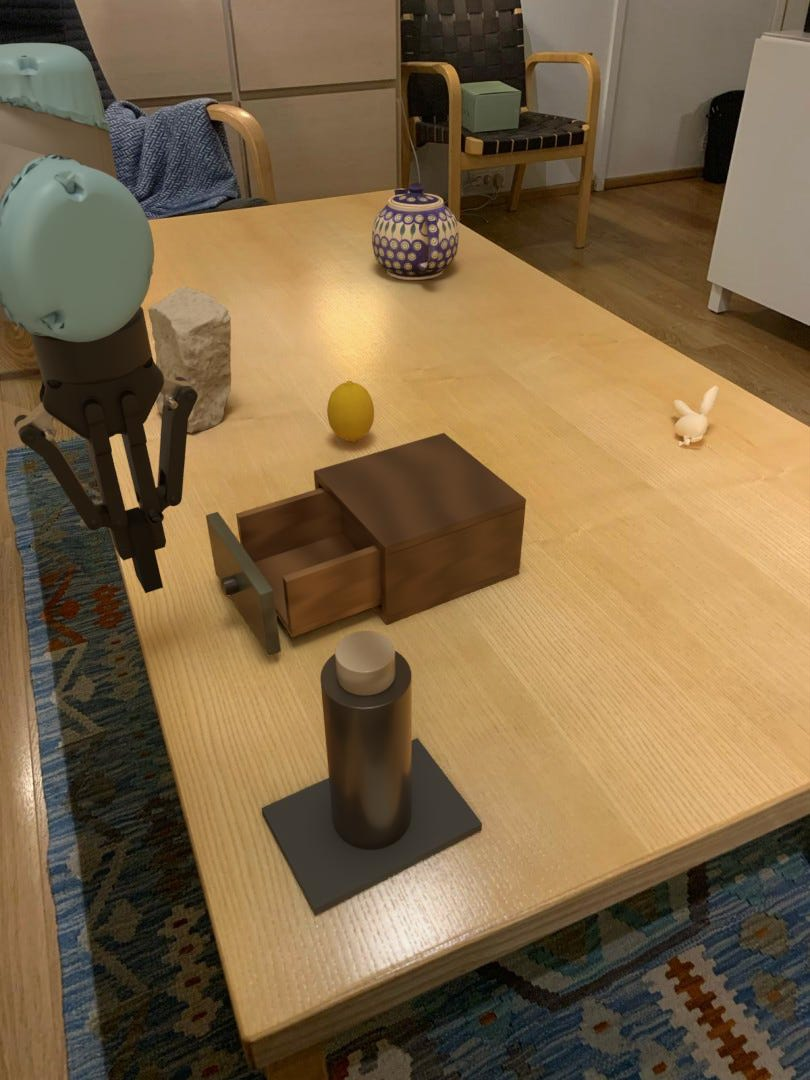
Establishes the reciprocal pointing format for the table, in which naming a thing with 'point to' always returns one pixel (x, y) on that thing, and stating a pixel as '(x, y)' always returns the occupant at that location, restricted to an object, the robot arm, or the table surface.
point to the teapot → (415, 235)
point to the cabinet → (430, 521)
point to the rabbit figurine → (694, 417)
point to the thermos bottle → (368, 739)
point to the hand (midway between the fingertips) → (149, 581)
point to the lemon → (350, 411)
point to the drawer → (295, 565)
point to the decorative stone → (195, 350)
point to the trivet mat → (347, 870)
